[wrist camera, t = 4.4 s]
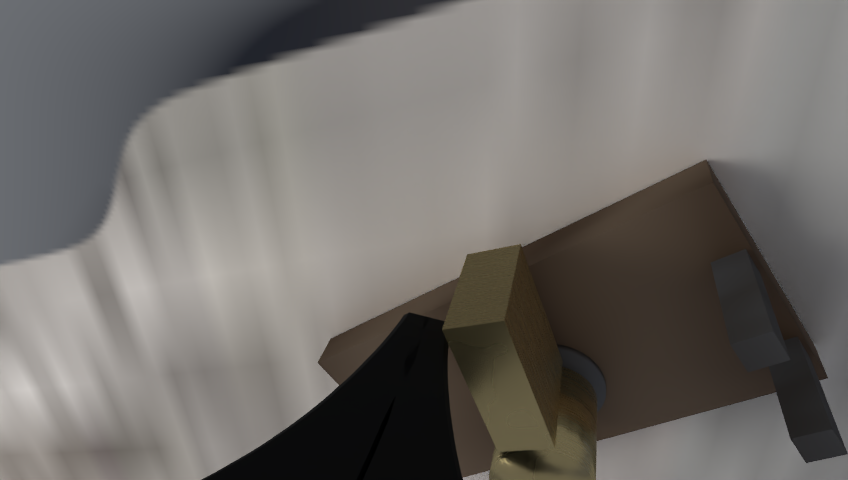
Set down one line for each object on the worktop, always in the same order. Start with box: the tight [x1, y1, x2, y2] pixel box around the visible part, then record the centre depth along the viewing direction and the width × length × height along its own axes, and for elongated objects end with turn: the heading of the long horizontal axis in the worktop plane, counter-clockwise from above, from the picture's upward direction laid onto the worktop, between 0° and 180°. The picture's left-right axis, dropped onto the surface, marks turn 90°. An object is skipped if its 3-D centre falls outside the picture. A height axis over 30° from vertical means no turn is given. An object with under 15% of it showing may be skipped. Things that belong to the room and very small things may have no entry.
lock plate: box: [318, 160, 847, 478], centre depth 15 cm, size 11×6×4 cm, turn 129°
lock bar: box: [442, 244, 597, 480], centre depth 13 cm, size 6×2×2 cm, turn 23°
